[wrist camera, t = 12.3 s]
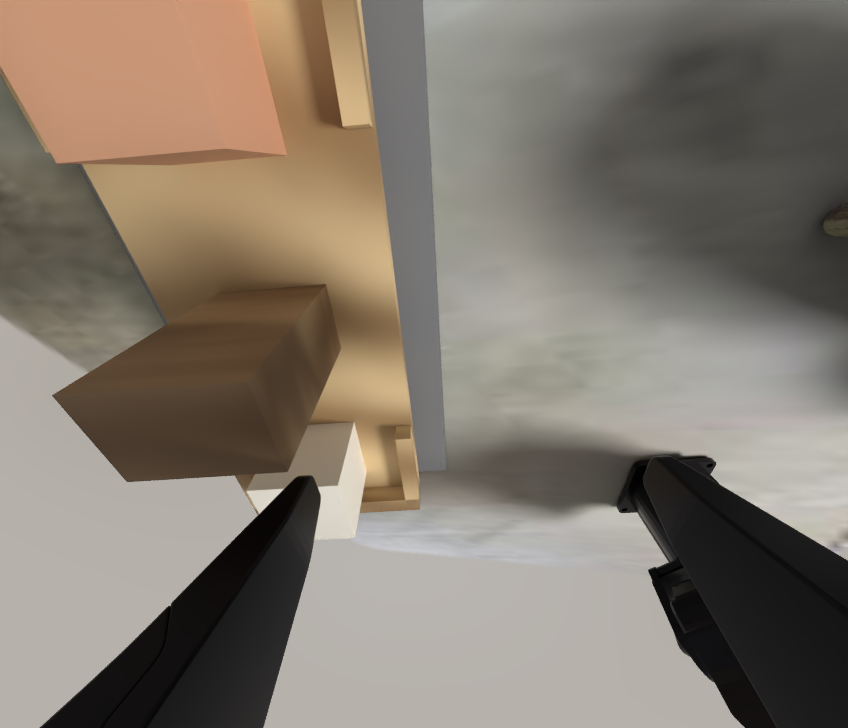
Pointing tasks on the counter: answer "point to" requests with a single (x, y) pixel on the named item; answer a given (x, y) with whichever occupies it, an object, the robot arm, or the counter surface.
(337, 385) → the tray
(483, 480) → the counter surface
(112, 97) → the block
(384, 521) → the counter surface
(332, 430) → the block
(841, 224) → the tabletop clock
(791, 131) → the counter surface
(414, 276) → the grey flat slab
